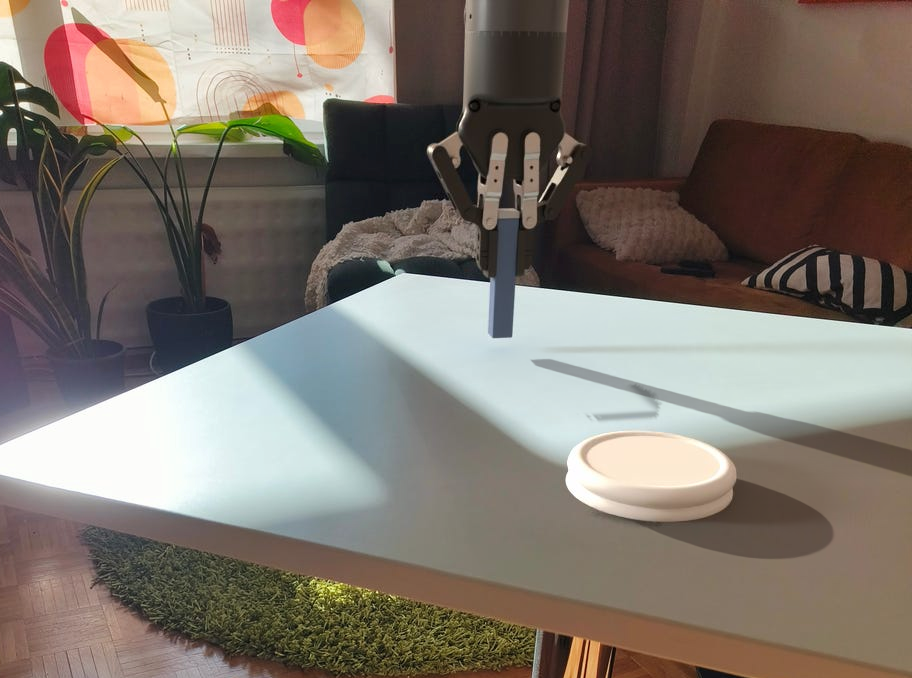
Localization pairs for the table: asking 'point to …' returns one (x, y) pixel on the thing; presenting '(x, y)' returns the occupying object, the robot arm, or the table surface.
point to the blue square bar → (504, 276)
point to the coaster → (651, 476)
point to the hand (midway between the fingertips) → (503, 274)
